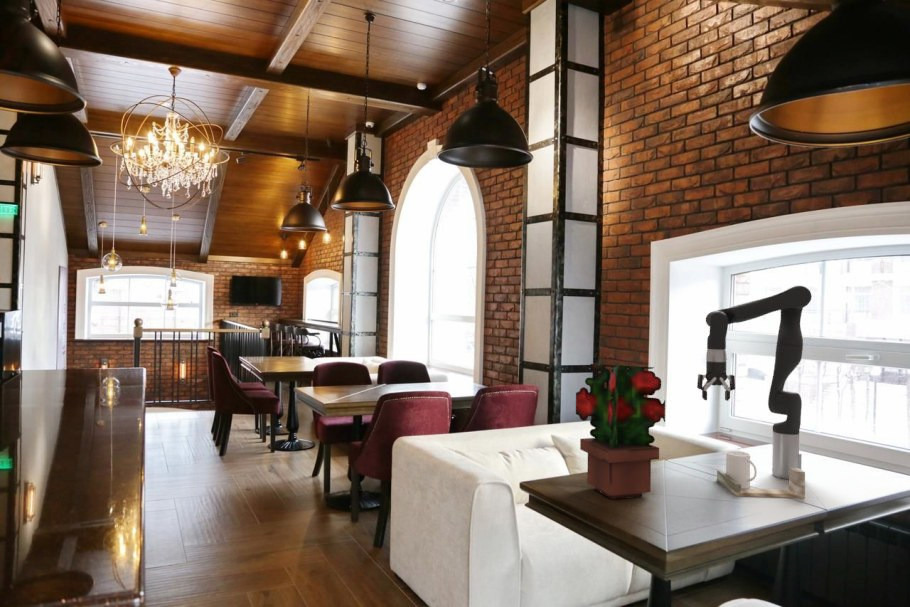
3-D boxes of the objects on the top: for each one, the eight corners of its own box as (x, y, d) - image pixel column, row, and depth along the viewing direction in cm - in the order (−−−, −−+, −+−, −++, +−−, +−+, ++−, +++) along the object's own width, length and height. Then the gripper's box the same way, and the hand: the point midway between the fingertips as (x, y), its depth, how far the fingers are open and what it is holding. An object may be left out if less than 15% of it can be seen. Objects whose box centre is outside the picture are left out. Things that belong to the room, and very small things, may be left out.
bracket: (779, 482, 233) (779, 458, 233) (804, 497, 214) (805, 471, 214) (716, 480, 234) (717, 456, 234) (736, 495, 215) (736, 470, 215)
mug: (763, 490, 223) (763, 457, 223) (745, 492, 220) (745, 459, 220) (737, 481, 234) (737, 449, 234) (720, 483, 231) (720, 451, 231)
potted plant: (664, 500, 211) (665, 368, 211) (606, 505, 204) (607, 369, 204) (628, 482, 232) (629, 362, 232) (575, 486, 226) (576, 363, 226)
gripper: (730, 359, 254) (730, 399, 254) (695, 359, 255) (695, 398, 255) (737, 361, 247) (737, 402, 247) (701, 360, 248) (701, 401, 248)
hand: (715, 400), depth 251 cm, fingers open, 8 cm apart
